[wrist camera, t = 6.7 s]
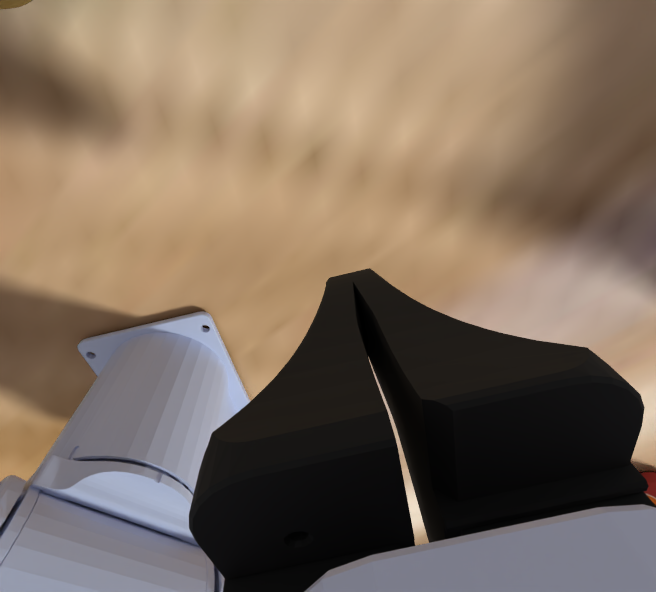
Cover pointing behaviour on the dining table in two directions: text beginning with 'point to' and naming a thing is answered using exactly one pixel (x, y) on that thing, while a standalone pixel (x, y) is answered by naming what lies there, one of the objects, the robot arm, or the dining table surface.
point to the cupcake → (12, 3)
